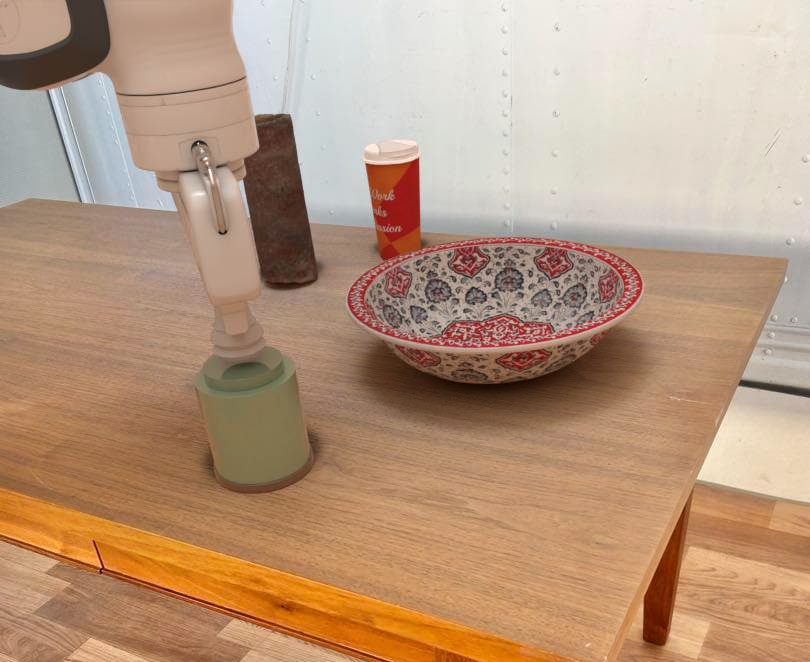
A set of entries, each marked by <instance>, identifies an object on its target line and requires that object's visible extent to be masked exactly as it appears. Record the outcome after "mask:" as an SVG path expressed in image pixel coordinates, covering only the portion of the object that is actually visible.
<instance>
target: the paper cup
mask: <svg viewBox="0 0 810 662" xmlns="http://www.w3.org/2000/svg"><path fill="white" fill-rule="evenodd" d="M363 154H364V155H363V156H362V159H361V160H362V162H363V163H364V164H365V172H366V177H367V184H368V189H369V196H370V197H369V198H370V203H371V208H372V215H373V222H374V228H375V233H376V240H377V245H378V251H379V255H380V258H381V260H383V261H387V260H389V259H391V258H394V257H396V256H399V255H402V254H405V253H408V252H411V251H415V250H418V249H422V248H421V244H422V240H421V239H422V237H421V190H420V189H421V178H420V157H422V154H423V153H422V152H421V150H420V149H419V144H418V143H417V142H416V141H414V140H411V139H389V140H388V141H387V140H383V141H378V142H377V143H375V142H374V143H370V144H368V145H366V146H365V147H364V153H363Z"/></svg>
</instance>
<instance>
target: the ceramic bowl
mask: <svg viewBox="0 0 810 662" xmlns="http://www.w3.org/2000/svg"><path fill="white" fill-rule="evenodd" d="M645 289H646V285H645V281H644V277H643V276H642V273H641V272H640V271H639V269H638V268H636V266H635V265H633V264H632V263H631V262H629V261H628V260H626V259H625V258H623V257H621V256H619V255H618V254H615V253H613V252H610V251H608V250H605V249H603V248H602V249H601V248H599V247H595V246H592V245H588V244H583V243H579V242H574V241H570V240H569V241H568V240H561V239H556V238H555V239H553V238H544V237H526V236H525V237H522V236H521V237H520V236H509V237H507V236H502V237H486V238H485V237H484V238H483V237H482V238H474V239H473V238H472V239H464V240H457V241H450V242H445V243H440V244H435V245H430V246H426V247H422V248H420V249H418V250H415V251H411V252H408V253H405V254H402V255H399V256H396V257H394V258H391V259H389V260H387V261H386V260H384V261H383V262H380V263H378V264H376V265H374V266H373V267H371V268H369V269H368V270H366V271H365V272H363V273H362V274H361V275H360V276H358V277H357V278H356V279H355V280H354V281H353V283H351V285H350V286H349V288H348V290H347V291H346V295H345V301H344V303H345V304H344V305H345V310H346V312H347V315H348V316H349V317H348V318H350V320H351V321H352V323H353V324H355V326H357V327H358V328H359V329H361V330H362V331H363V332H365V333H367V334H369V335H370V336H372V337H374V338H376V339H378V340H379V341H380V343H381V344H382V345H383V346H384V347H385V348H386V349H387V350H388V351H389V352H390V353H392V354H393V355H394V356H395V357H397V358H398V359H400V360H401V361H403V362H404V363H405V364H407V365H409V366H411V367H413V368H414V369H416V370H418V371H420V372H423V373H424V374H425V373H426V374H427V375H430V376H433V377H437V378H439V379H444V380H447V381H453V382H457V383H465V384H466V383H467V384H479V385H480V384H481V385H483V384H484V385H489V384H491V385H492V384H493V385H494V384H505V383H507V384H508V383H513V382H521V381H526V380H530V379H536V378H538V377H542V376H544V375H547V374H551V373H553V372H555V371H557V370H560V369H562V368H564V367H566V366H568V365H570V364H571V363H573V362H575V361H576V360H578V359H579V358H581V357H582V356H584V355H586V354H587V353H588V352H589V351H590V350H592V349H593V348H594V347H595V346H596V345H598V343H599V342H600V341H601V340H602V339H603V338H604V337H605V336H606V335H607V334H608V332H610V330H611V329H612V328H613V327H615V326H616V325H618V324H620V323H621V322H623V321H624V320H626V319H627V318H628V317H630V316H631V315H632V314H633V313H634V312H635V311H636V310H637V308H639V306H640V305H641V302H642V301H643V298H644V297H645V295H644V294H645V292H646V291H645Z"/></svg>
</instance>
